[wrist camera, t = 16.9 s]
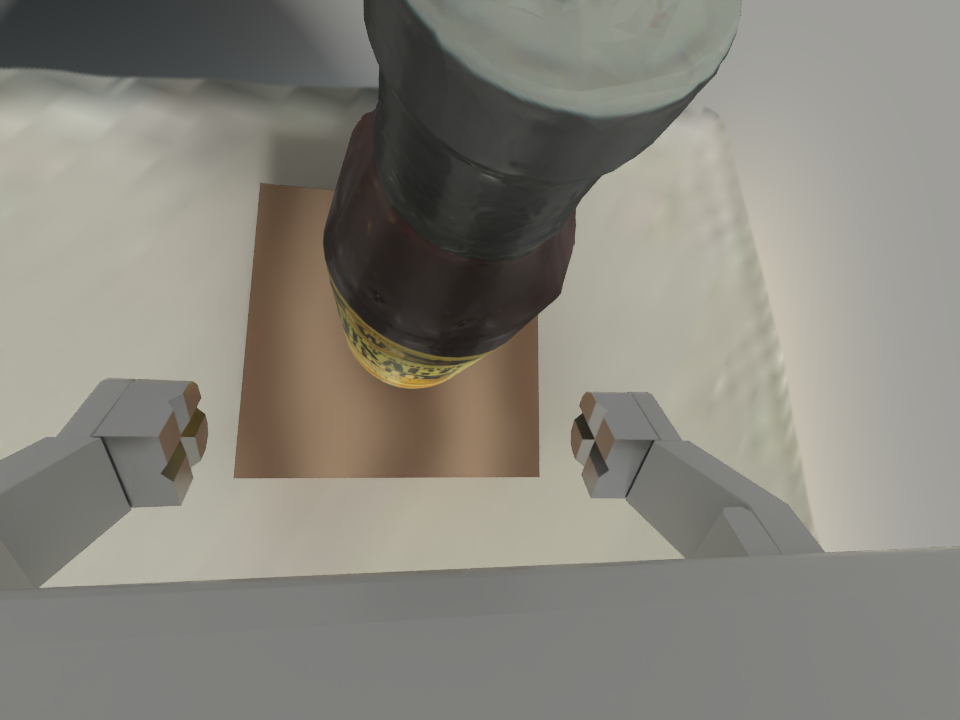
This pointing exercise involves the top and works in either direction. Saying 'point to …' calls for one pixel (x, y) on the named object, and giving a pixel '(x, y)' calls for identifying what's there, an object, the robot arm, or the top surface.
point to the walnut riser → (362, 378)
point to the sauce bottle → (494, 161)
